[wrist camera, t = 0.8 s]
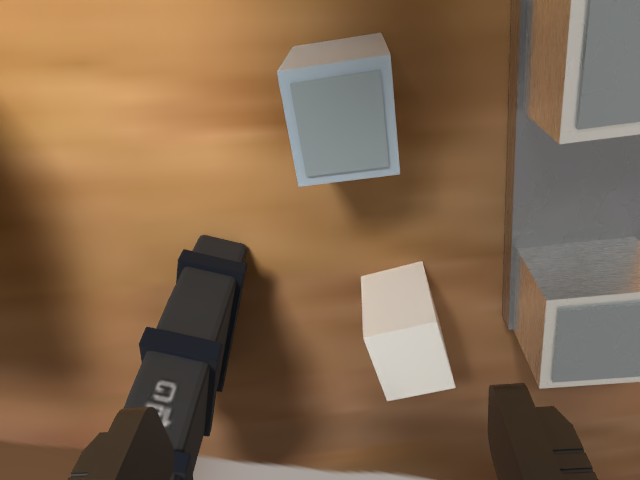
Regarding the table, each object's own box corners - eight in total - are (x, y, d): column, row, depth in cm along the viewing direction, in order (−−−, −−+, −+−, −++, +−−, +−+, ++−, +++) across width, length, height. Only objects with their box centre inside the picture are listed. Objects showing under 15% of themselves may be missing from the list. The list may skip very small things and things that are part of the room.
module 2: (360, 276, 32) (363, 337, 27) (422, 260, 31) (436, 321, 26) (381, 334, 34) (387, 401, 29) (439, 320, 34) (455, 387, 28)
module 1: (293, 46, 25) (276, 72, 20) (381, 32, 25) (390, 55, 19) (309, 140, 28) (298, 188, 22) (389, 129, 27) (400, 176, 21)
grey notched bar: (512, -23, 23) (565, -16, 18) (672, -49, 23) (784, -52, 17) (502, 315, 33) (534, 391, 27) (614, 305, 32) (672, 382, 26)
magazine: (258, 211, 28) (176, 505, 20) (243, 311, 39) (186, 528, 30) (193, 196, 28) (80, 486, 19) (196, 300, 39) (124, 517, 30)
